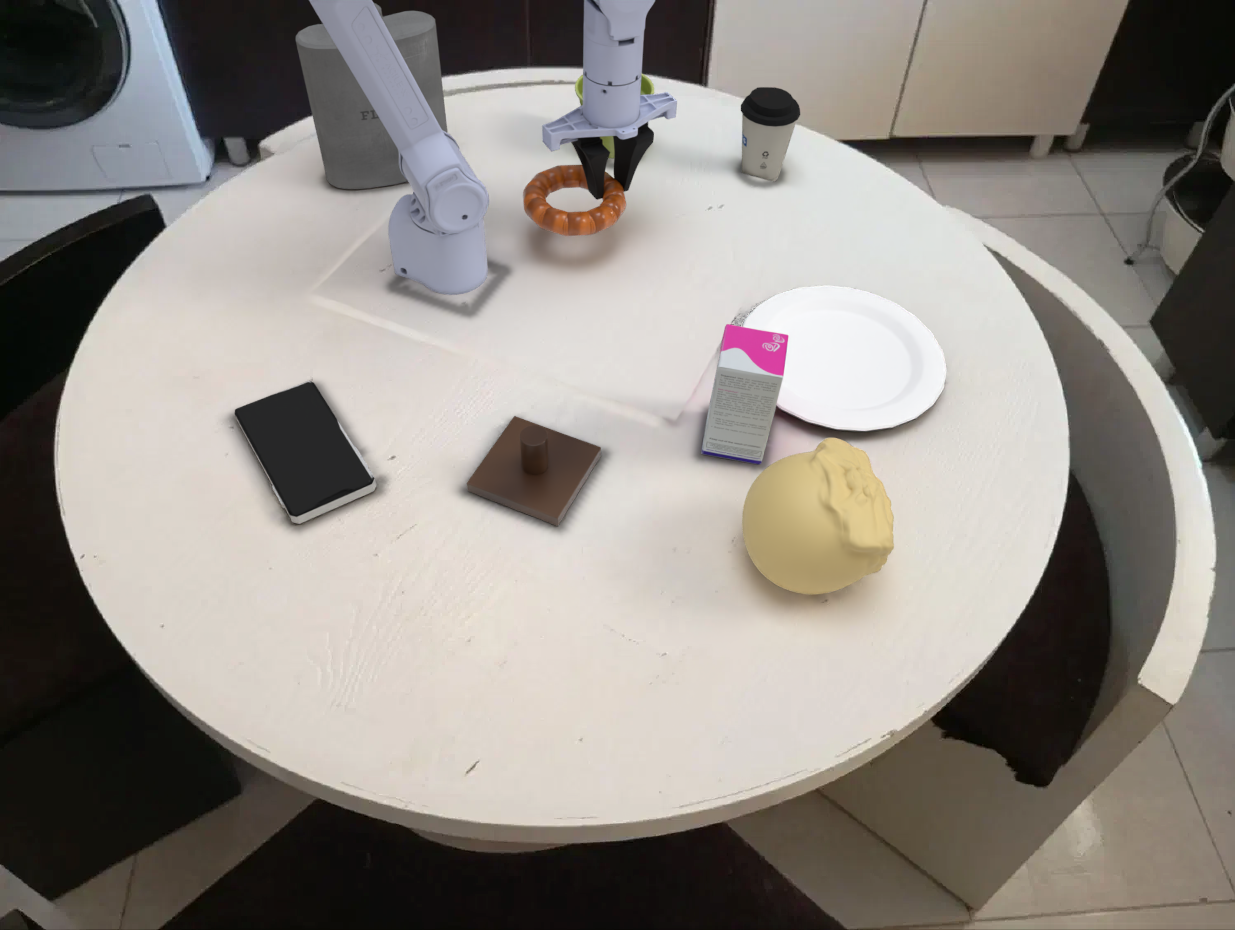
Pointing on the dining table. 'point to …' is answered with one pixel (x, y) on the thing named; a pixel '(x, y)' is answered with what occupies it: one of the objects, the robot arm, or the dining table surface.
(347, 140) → the flask
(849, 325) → the plate
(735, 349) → the supplement box
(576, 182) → the ring
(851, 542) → the sculpture
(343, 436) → the smartphone
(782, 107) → the coffee cup
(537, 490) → the stand
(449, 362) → the dining table surface
